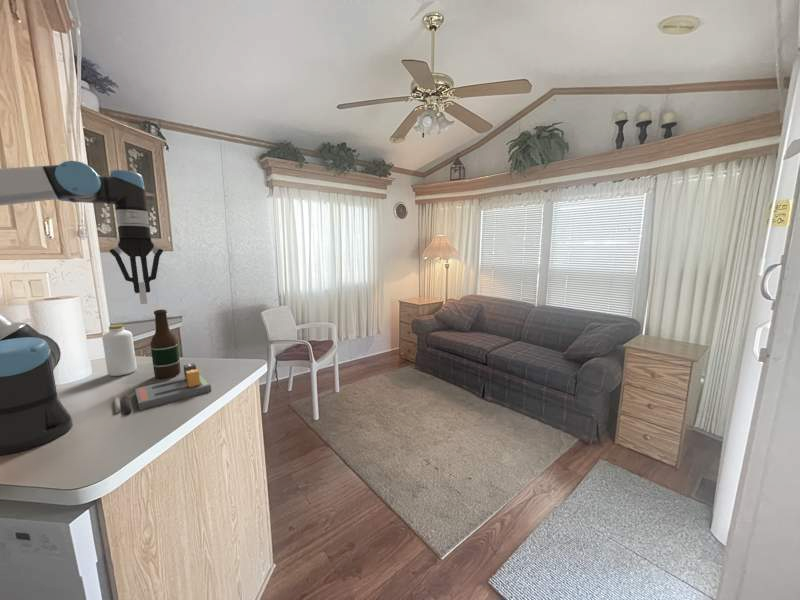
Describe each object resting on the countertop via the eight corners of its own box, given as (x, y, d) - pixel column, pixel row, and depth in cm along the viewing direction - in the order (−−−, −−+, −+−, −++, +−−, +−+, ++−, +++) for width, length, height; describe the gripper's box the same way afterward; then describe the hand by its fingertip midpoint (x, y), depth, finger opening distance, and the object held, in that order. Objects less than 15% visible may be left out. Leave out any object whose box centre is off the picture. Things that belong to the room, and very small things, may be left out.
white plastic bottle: (112, 371, 123) (105, 324, 121) (140, 367, 127) (133, 322, 124) (104, 378, 116) (96, 329, 113) (133, 374, 119) (126, 326, 117)
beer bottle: (186, 371, 122) (178, 308, 118) (169, 379, 114) (161, 312, 111) (166, 371, 123) (159, 308, 119) (149, 379, 115) (140, 312, 112)
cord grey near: (121, 412, 91) (120, 408, 91) (115, 413, 90) (114, 409, 90) (119, 399, 99) (119, 396, 98) (114, 401, 98) (113, 397, 98)
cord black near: (131, 413, 90) (130, 408, 90) (125, 415, 89) (124, 410, 89) (128, 398, 99) (128, 394, 99) (122, 400, 98) (122, 395, 98)
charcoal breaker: (186, 380, 107) (185, 367, 106) (184, 378, 109) (183, 365, 108) (197, 378, 109) (195, 365, 108) (195, 375, 111) (193, 362, 110)
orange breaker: (189, 387, 101) (187, 373, 101) (187, 384, 104) (185, 370, 103) (200, 384, 103) (198, 370, 103) (198, 381, 106) (196, 368, 105)
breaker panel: (139, 409, 92) (138, 403, 92) (135, 394, 102) (134, 388, 102) (211, 391, 104) (210, 384, 104) (201, 379, 114) (200, 373, 114)
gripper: (104, 223, 91) (116, 307, 94) (162, 225, 100) (171, 302, 103) (104, 225, 96) (116, 304, 100) (158, 227, 105) (167, 299, 109)
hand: (144, 303), depth 101 cm, fingers closed
